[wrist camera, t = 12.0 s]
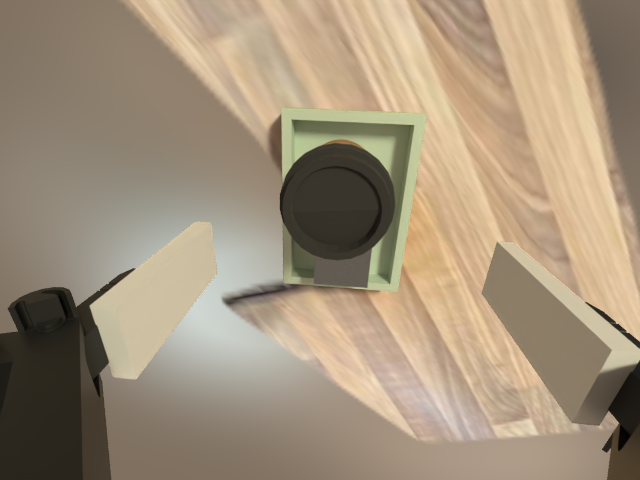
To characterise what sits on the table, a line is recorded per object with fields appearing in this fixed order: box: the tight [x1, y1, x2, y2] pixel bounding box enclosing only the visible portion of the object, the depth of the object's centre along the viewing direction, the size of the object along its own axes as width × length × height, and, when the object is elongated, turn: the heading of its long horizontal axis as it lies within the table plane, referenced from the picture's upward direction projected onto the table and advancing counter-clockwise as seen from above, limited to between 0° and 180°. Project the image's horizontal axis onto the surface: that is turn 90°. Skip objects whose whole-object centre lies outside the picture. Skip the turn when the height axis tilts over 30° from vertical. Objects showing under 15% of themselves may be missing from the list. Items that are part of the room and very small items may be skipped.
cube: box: [314, 248, 372, 288], centre depth 36 cm, size 6×6×5 cm
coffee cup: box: [280, 139, 395, 260], centre depth 27 cm, size 8×8×15 cm
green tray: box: [281, 108, 427, 292], centre depth 35 cm, size 20×14×3 cm
